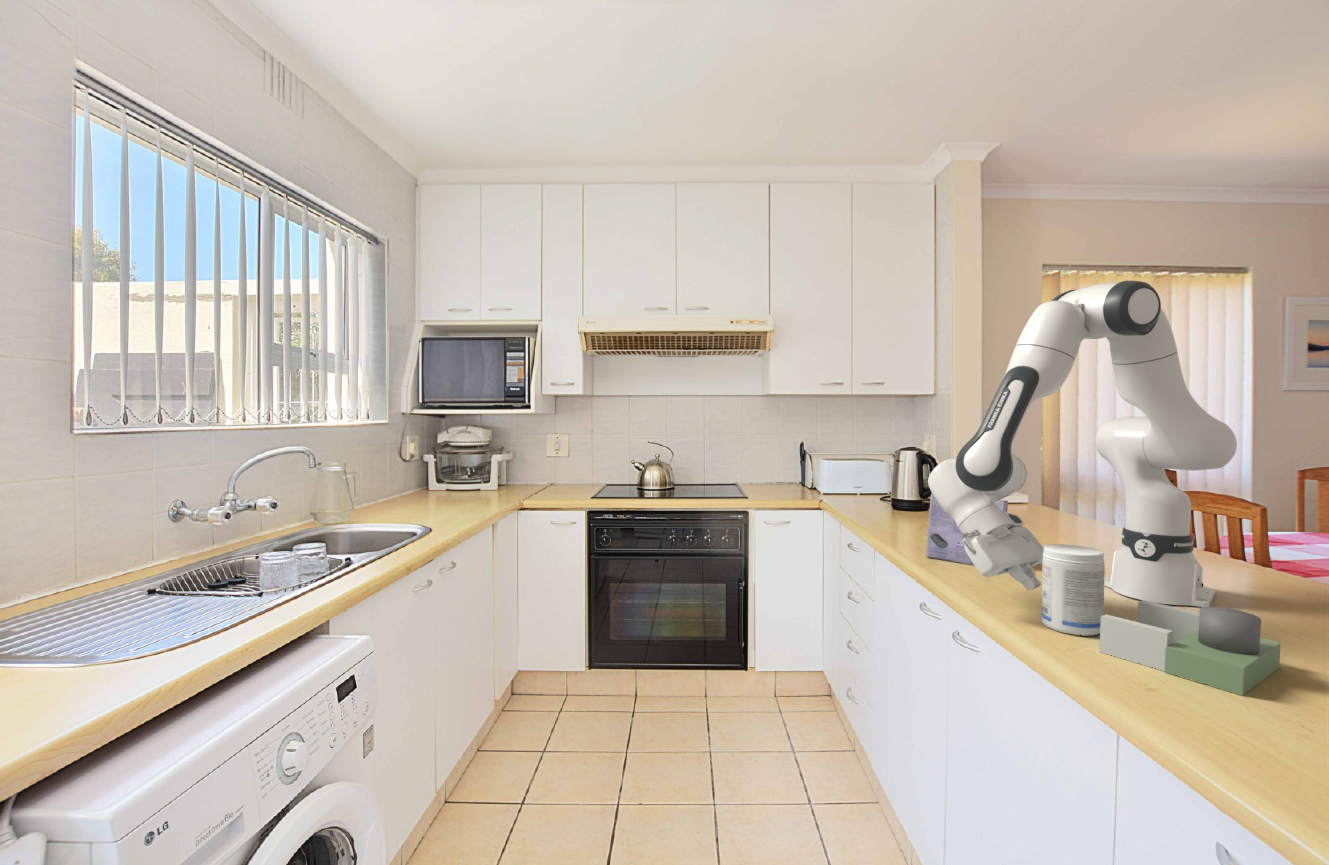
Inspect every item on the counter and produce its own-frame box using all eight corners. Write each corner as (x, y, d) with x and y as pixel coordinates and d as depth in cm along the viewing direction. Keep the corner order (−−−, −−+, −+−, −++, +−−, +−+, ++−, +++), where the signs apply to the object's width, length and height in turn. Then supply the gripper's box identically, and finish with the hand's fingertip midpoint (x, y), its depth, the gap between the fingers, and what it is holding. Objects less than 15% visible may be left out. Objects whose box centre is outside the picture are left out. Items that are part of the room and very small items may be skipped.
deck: (1142, 632, 112) (1144, 583, 112) (1279, 667, 97) (1282, 611, 97) (1097, 652, 102) (1100, 599, 102) (1242, 695, 87) (1245, 633, 87)
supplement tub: (1112, 631, 113) (1115, 551, 112) (1088, 641, 107) (1092, 557, 107) (1054, 616, 121) (1057, 541, 120) (1030, 625, 115) (1033, 546, 115)
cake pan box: (1009, 567, 159) (1012, 498, 158) (1005, 570, 155) (1008, 500, 154) (931, 555, 171) (933, 491, 170) (925, 558, 167) (927, 493, 166)
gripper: (969, 524, 119) (1019, 587, 112) (1024, 515, 131) (1073, 572, 123) (947, 543, 123) (994, 605, 116) (1002, 532, 134) (1048, 588, 127)
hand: (1035, 588), depth 119 cm, fingers closed
